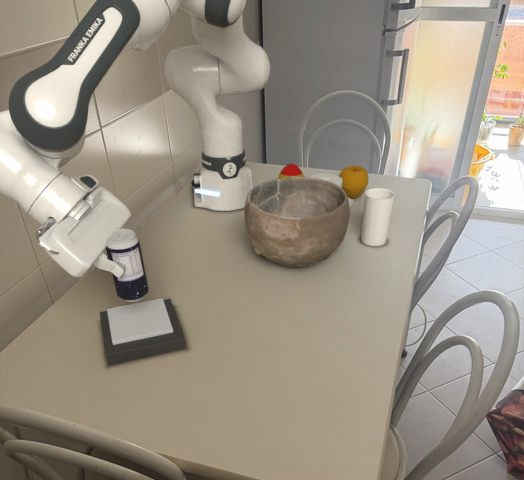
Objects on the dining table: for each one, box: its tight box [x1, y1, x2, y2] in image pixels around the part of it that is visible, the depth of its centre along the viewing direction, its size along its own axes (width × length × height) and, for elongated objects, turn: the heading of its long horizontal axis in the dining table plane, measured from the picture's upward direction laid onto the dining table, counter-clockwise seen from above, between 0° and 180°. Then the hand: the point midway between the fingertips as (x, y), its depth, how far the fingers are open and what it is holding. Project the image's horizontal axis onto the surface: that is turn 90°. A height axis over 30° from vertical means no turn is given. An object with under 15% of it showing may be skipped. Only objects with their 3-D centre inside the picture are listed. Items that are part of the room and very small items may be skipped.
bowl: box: [243, 176, 351, 268], centre depth 112 cm, size 24×24×15 cm
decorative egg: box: [277, 163, 305, 179], centre depth 139 cm, size 8×8×10 cm
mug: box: [360, 187, 396, 247], centre depth 119 cm, size 10×7×12 cm, turn 157°
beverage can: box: [105, 228, 149, 303], centre depth 86 cm, size 6×6×12 cm
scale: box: [99, 297, 187, 367], centre depth 93 cm, size 14×14×3 cm
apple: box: [338, 165, 370, 199], centre depth 140 cm, size 9×8×9 cm
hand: (130, 262), depth 85 cm, fingers closed on beverage can, 5 cm apart
